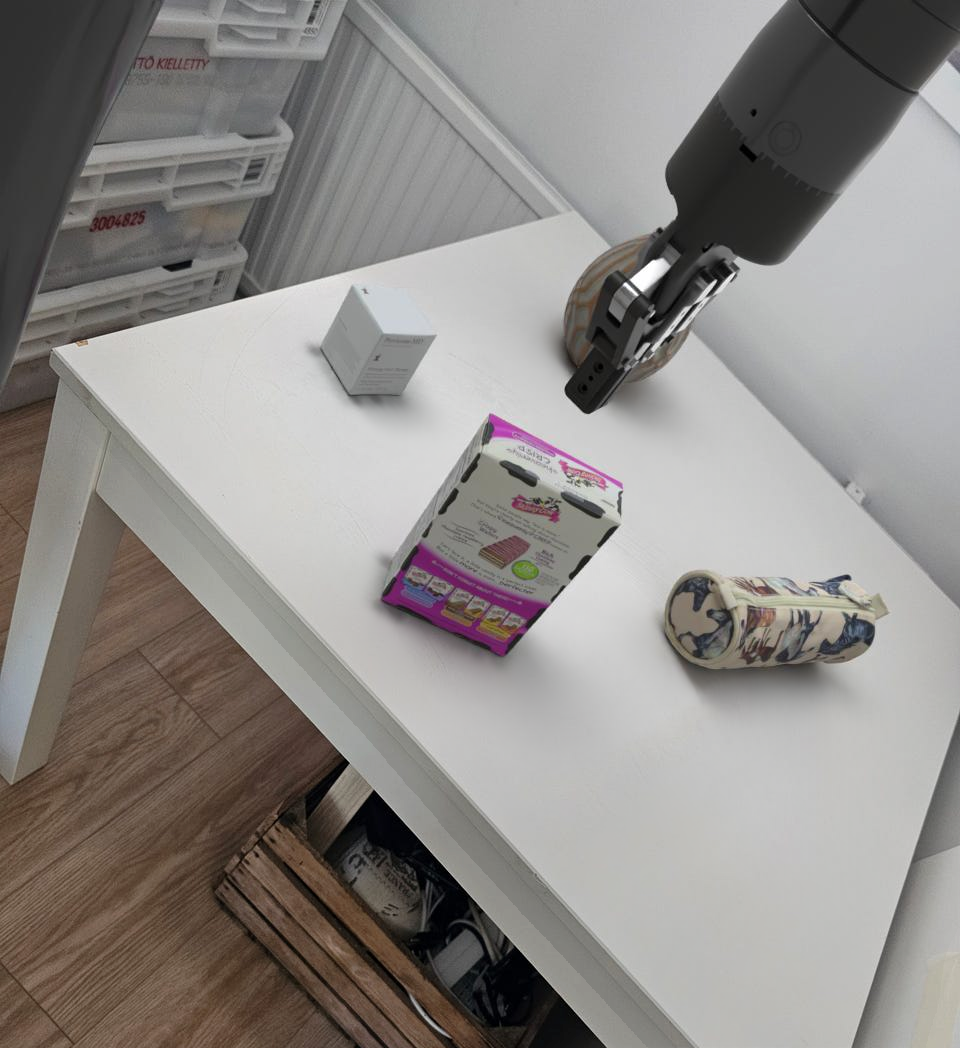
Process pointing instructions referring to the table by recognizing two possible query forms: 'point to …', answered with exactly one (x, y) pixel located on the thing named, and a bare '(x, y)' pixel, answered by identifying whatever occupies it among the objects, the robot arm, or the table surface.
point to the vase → (585, 301)
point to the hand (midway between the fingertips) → (582, 400)
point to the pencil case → (769, 620)
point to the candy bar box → (502, 537)
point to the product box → (377, 340)
